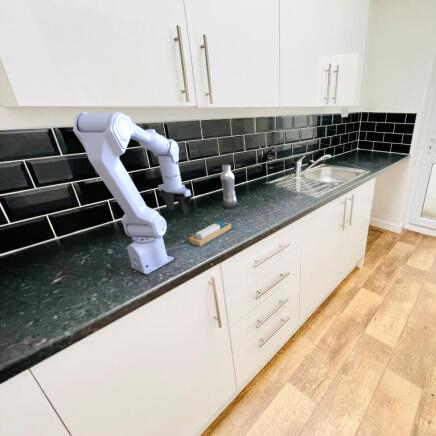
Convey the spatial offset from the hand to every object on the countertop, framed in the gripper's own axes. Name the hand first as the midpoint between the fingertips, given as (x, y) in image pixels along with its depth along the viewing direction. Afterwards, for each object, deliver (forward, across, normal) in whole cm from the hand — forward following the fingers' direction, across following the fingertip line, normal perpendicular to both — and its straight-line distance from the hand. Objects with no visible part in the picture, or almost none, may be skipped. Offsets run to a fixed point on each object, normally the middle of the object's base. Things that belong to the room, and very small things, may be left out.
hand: (178, 211), depth 94 cm
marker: (+9, -10, -5) cm, 14 cm away
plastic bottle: (+10, +4, -31) cm, 33 cm away
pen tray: (+9, -10, -5) cm, 15 cm away
